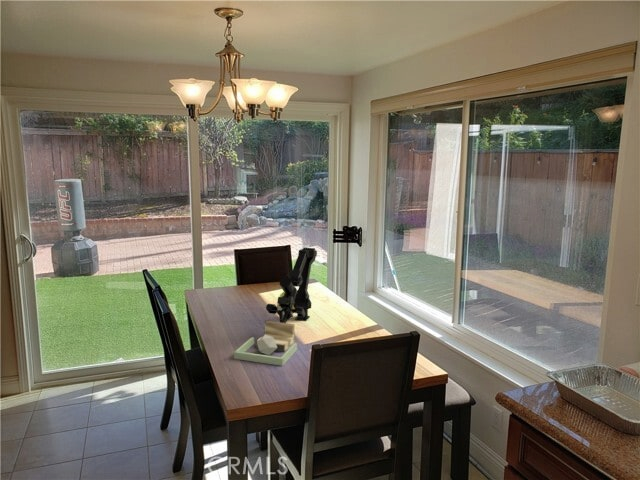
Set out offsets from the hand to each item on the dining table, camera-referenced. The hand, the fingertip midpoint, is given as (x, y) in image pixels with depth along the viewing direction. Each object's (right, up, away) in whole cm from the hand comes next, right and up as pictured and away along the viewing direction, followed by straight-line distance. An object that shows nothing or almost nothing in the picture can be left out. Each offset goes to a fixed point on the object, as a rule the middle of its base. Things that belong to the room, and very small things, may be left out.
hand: (281, 326), depth 225 cm
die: (-5, -9, -15) cm, 18 cm away
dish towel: (+2, +3, +57) cm, 57 cm away
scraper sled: (-2, -7, -5) cm, 9 cm away
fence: (-5, -9, -15) cm, 18 cm away
